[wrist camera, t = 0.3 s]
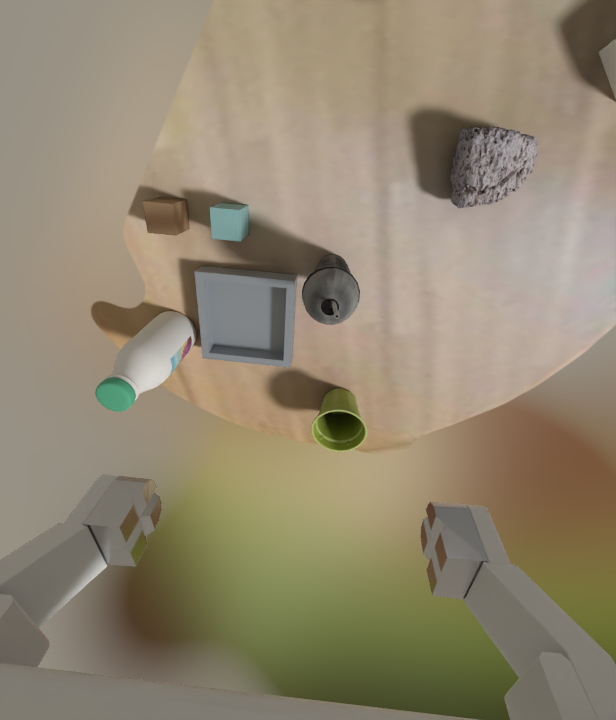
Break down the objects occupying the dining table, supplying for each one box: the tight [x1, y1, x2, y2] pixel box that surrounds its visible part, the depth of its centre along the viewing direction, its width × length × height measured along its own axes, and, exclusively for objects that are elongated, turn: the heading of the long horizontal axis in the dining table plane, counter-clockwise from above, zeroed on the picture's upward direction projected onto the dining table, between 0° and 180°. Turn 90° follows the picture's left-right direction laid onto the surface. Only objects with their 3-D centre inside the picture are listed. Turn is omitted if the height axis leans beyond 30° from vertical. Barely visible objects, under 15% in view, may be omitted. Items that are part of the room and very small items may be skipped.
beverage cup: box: [302, 255, 360, 325], centre depth 45 cm, size 7×7×20 cm
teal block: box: [210, 203, 249, 242], centre depth 49 cm, size 4×4×5 cm
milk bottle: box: [96, 311, 196, 411], centre depth 53 cm, size 8×8×20 cm
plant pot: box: [311, 388, 367, 452], centre depth 63 cm, size 9×9×9 cm
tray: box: [194, 266, 297, 367], centre depth 57 cm, size 15×15×3 cm
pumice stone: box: [450, 127, 538, 208], centre depth 43 cm, size 10×8×10 cm
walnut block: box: [143, 197, 190, 235], centre depth 49 cm, size 4×4×5 cm
